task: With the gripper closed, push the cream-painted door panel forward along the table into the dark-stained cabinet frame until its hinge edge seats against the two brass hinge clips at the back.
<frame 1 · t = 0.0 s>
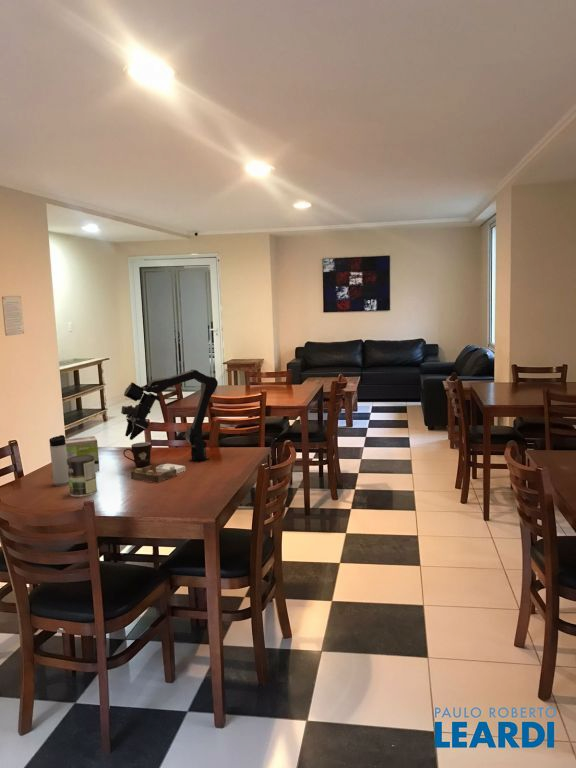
hand: (128, 437, 270), 15 cm above the table, tool tilted 35°, fingers open, 9 cm apart
coffee can: (84, 493, 242), on the table
cabinet frame: (154, 477, 259), on the table
coffee mug: (139, 466, 279), on the table
door panel: (170, 472, 267), on the table
travel mug: (62, 484, 257), on the table
tea box: (81, 472, 275), on the table
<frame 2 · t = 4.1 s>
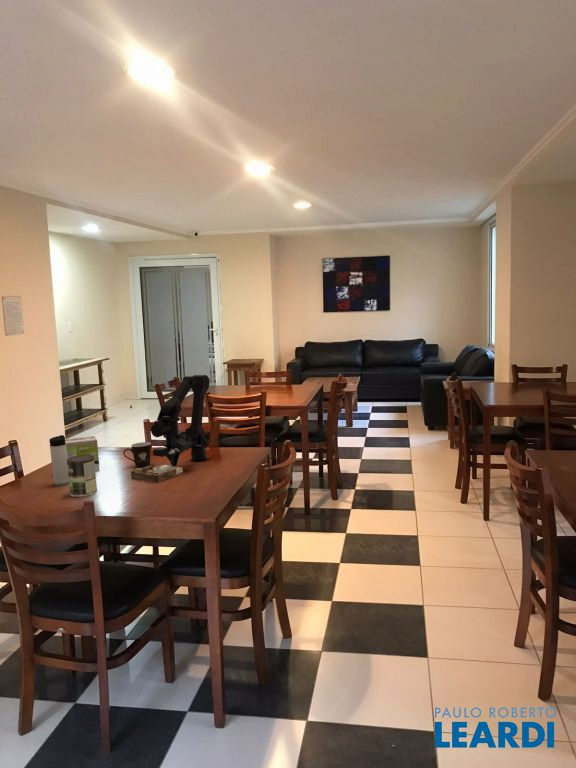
hand: (174, 467, 269), 1 cm above the table, tool pointing down, fingers closed
door panel: (168, 474, 266), on the table, touching gripper
everything else where it was.
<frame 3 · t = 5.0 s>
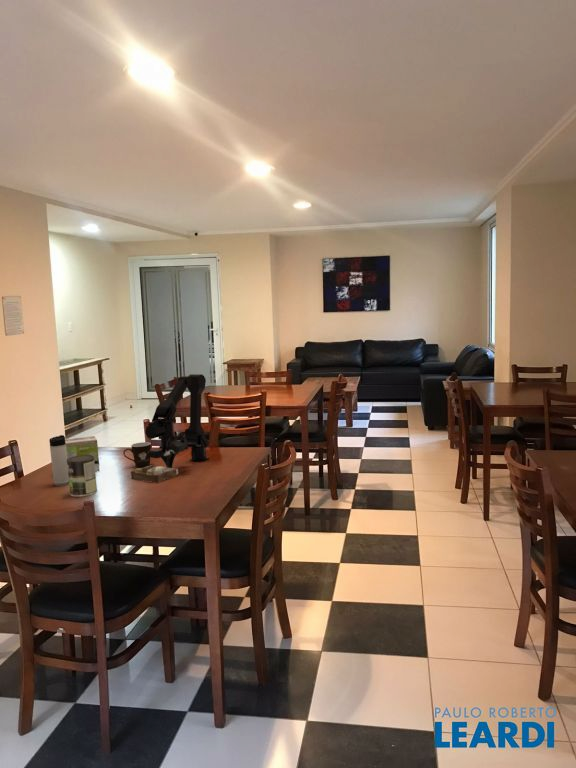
hand: (169, 469, 267), 1 cm above the table, tool pointing down, fingers closed
door panel: (163, 475, 263), on the table, touching gripper
everything else where it was.
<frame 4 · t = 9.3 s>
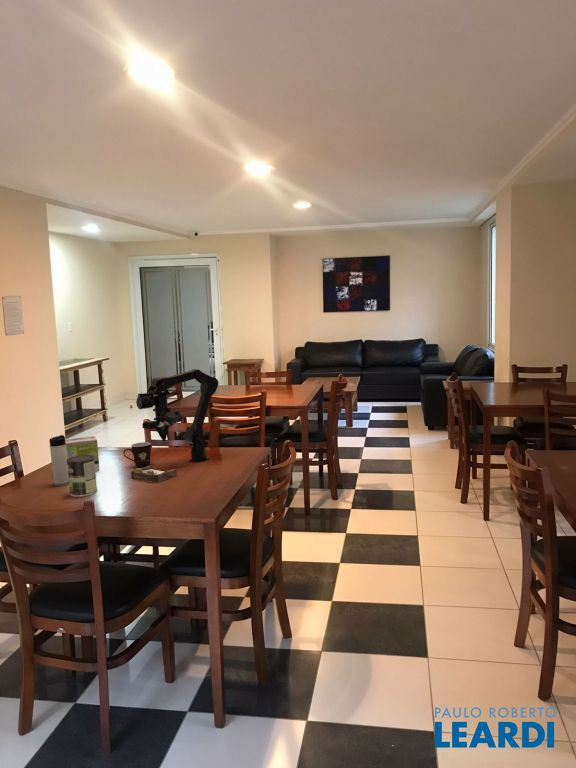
hand: (164, 440, 273), 12 cm above the table, tool pointing down, fingers closed
door panel: (153, 478, 259), on the table
everything else where it was.
at the end: door panel 0.2 cm from the target spot, on the table; door panel tilted 0° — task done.
